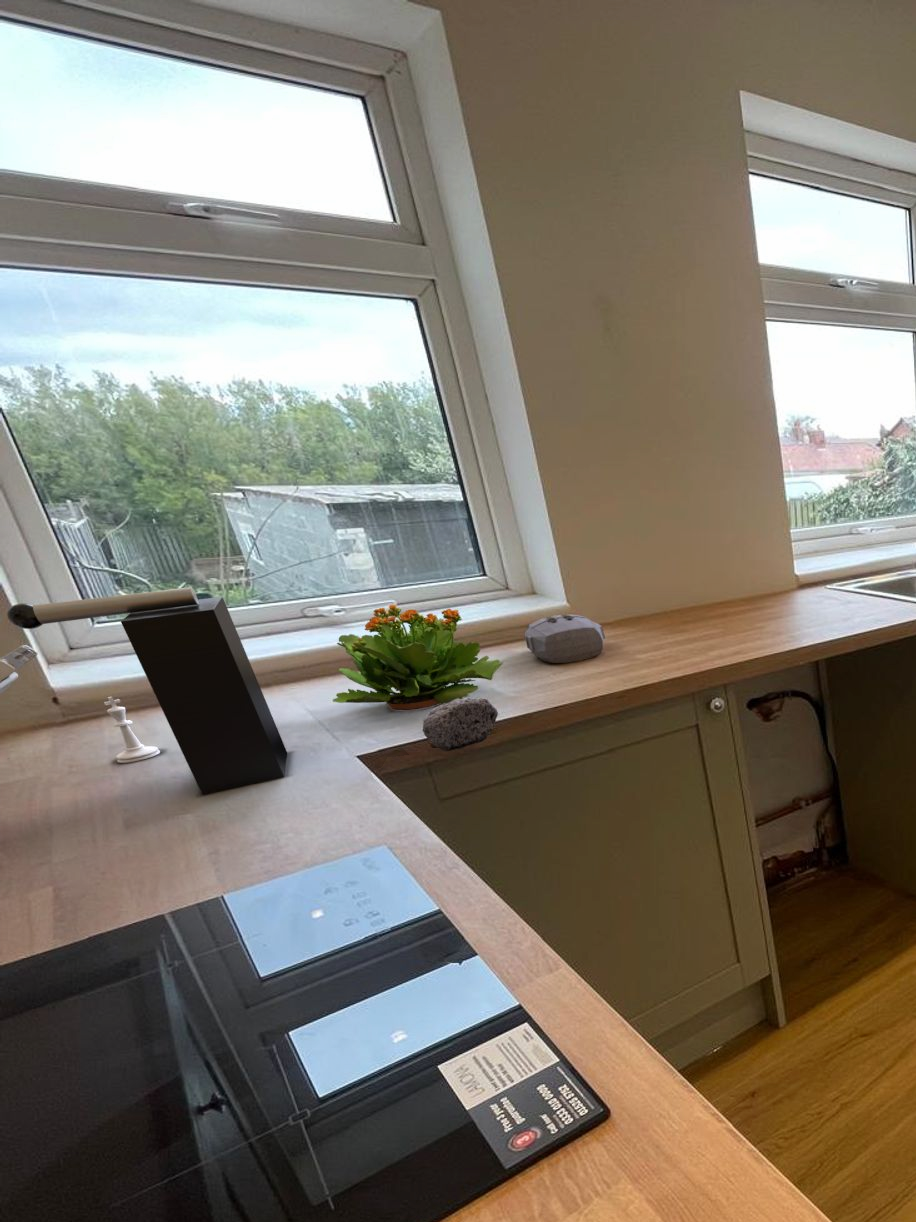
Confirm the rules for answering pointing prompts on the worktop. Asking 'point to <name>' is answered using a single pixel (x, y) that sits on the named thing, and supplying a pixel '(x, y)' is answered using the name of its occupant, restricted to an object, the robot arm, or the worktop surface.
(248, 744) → the black box
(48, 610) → the matchstick with dark head
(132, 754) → the chess piece
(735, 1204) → the worktop surface
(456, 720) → the pumice stone
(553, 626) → the soft grey pack
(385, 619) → the potted flower
